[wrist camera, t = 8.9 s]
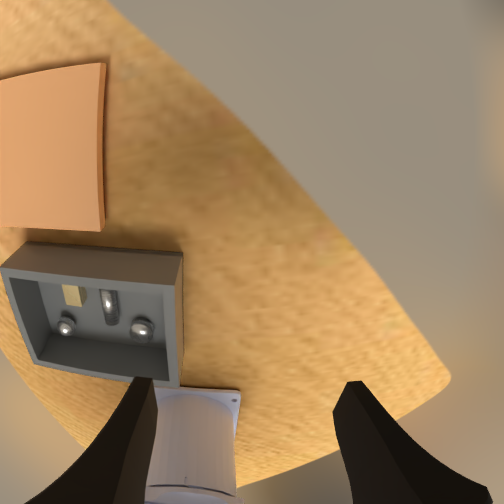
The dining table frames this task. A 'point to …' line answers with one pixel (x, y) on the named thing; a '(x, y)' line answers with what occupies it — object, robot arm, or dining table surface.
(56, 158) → the lid
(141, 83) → the dining table surface
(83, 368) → the tub
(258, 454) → the dining table surface
